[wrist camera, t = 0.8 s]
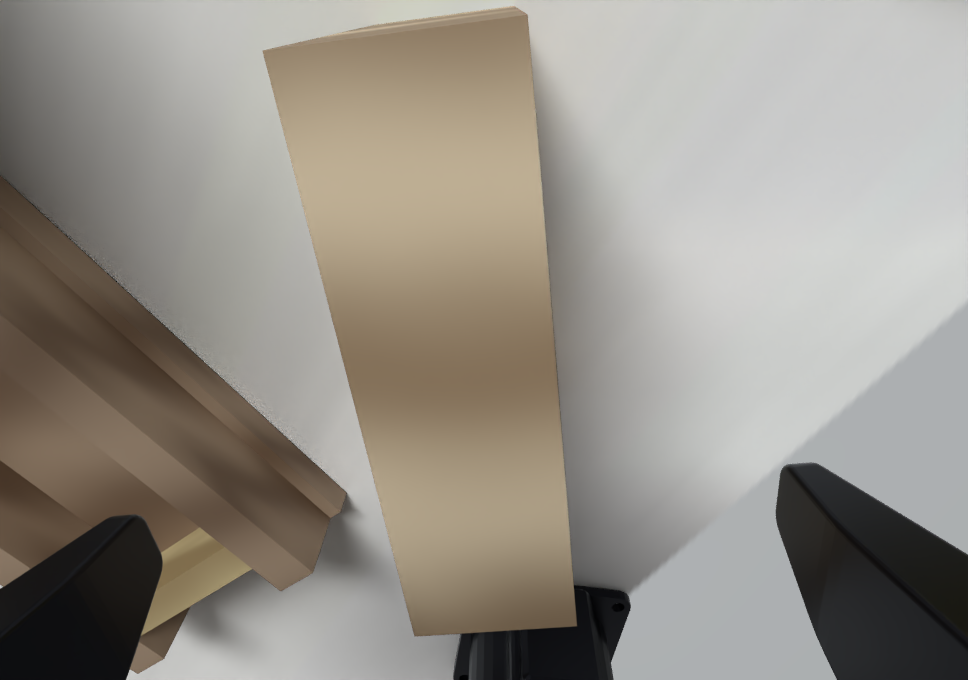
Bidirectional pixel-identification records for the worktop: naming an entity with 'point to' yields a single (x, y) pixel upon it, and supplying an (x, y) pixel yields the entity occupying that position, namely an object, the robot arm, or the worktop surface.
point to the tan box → (441, 302)
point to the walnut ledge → (135, 437)
